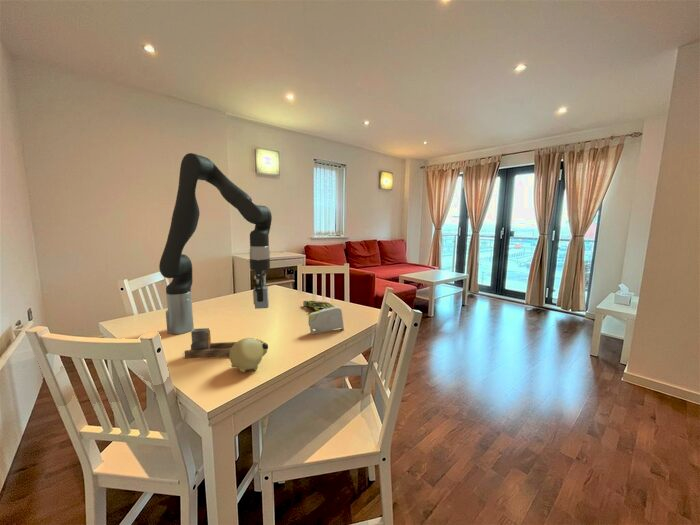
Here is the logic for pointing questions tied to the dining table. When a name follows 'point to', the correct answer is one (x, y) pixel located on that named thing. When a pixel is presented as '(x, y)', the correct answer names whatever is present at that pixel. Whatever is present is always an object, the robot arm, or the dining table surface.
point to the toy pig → (247, 353)
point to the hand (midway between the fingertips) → (260, 300)
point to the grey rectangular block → (265, 299)
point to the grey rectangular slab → (326, 320)
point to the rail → (212, 351)
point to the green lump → (317, 304)
